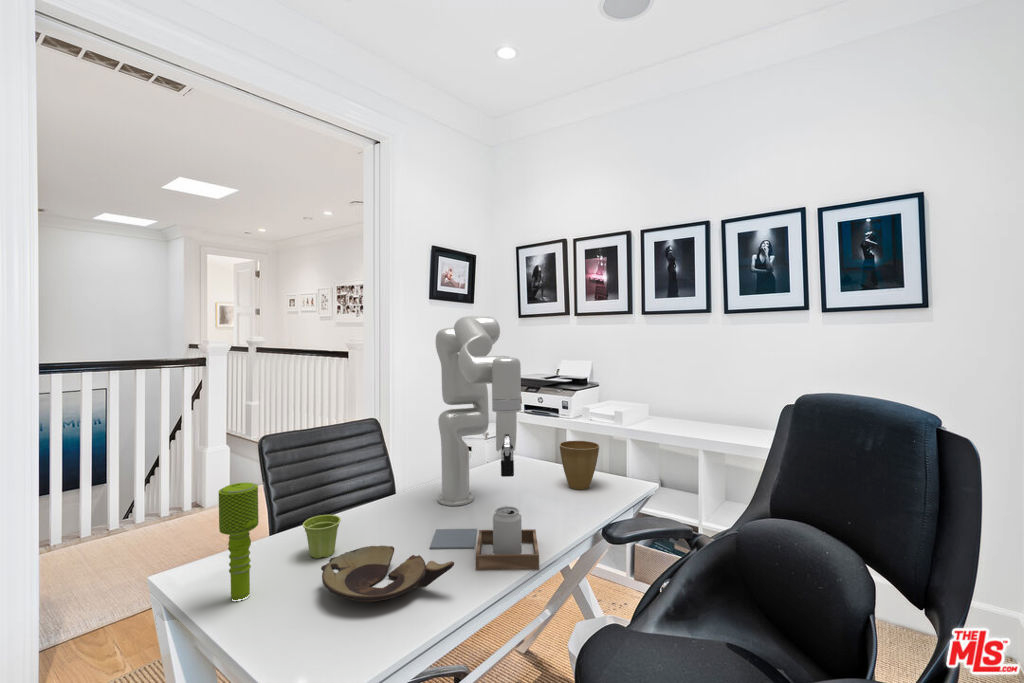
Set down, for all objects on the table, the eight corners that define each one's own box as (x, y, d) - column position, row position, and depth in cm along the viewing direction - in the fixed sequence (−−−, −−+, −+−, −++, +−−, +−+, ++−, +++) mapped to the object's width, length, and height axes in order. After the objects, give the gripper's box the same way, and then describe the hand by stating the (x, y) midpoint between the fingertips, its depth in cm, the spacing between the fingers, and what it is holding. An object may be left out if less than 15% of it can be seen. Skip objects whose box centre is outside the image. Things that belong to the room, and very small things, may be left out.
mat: (436, 530, 143) (436, 529, 143) (476, 530, 143) (476, 528, 143) (429, 549, 131) (429, 547, 131) (474, 548, 131) (474, 546, 131)
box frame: (479, 542, 135) (479, 529, 135) (535, 541, 135) (535, 529, 135) (475, 570, 119) (475, 556, 119) (539, 569, 120) (539, 555, 120)
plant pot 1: (348, 548, 132) (348, 517, 132) (324, 564, 123) (324, 530, 123) (320, 543, 135) (320, 512, 135) (295, 559, 126) (294, 525, 126)
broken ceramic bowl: (374, 556, 127) (373, 527, 127) (466, 586, 112) (466, 553, 112) (297, 596, 108) (297, 562, 108) (397, 640, 93) (396, 600, 93)
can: (518, 563, 123) (518, 516, 123) (490, 560, 124) (489, 514, 124) (524, 550, 130) (523, 505, 130) (496, 547, 132) (496, 503, 131)
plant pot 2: (602, 493, 175) (602, 449, 175) (561, 493, 175) (561, 449, 175) (596, 480, 190) (595, 439, 190) (557, 480, 190) (557, 440, 190)
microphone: (212, 603, 106) (209, 489, 105) (242, 585, 113) (240, 478, 112) (239, 610, 103) (237, 493, 102) (269, 592, 110) (267, 482, 109)
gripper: (493, 401, 135) (494, 462, 135) (491, 410, 118) (492, 480, 118) (520, 400, 135) (521, 462, 135) (522, 409, 118) (523, 480, 118)
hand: (507, 470), depth 126 cm, fingers open, 9 cm apart
